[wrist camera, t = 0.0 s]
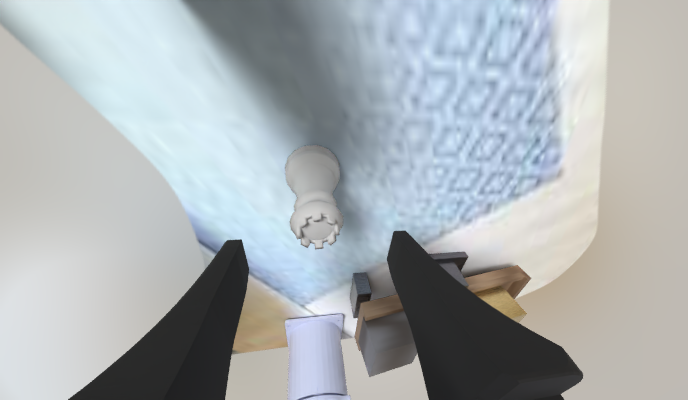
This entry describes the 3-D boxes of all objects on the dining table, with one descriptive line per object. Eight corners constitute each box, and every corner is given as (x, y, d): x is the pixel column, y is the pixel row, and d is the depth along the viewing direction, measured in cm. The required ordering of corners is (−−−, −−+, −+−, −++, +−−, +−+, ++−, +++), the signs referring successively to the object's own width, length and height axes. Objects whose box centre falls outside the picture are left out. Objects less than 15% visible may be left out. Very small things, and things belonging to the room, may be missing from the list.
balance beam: (354, 336, 30) (368, 380, 26) (360, 303, 26) (378, 349, 22) (493, 298, 35) (520, 329, 32) (517, 265, 31) (551, 297, 28)
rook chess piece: (334, 191, 22) (347, 260, 16) (283, 187, 21) (276, 259, 15) (343, 146, 20) (364, 206, 14) (286, 138, 19) (280, 200, 13)
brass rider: (452, 313, 32) (474, 345, 29) (465, 292, 29) (490, 325, 26) (484, 304, 33) (508, 334, 30) (499, 283, 30) (527, 313, 27)
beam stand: (348, 307, 34) (353, 340, 31) (354, 259, 28) (362, 292, 25) (441, 298, 36) (455, 327, 33) (464, 251, 30) (485, 281, 27)
